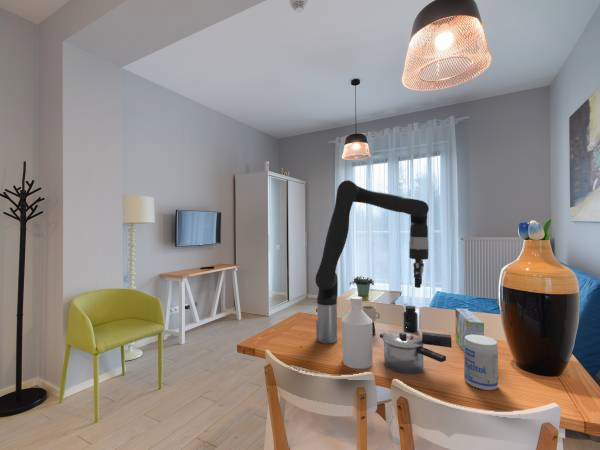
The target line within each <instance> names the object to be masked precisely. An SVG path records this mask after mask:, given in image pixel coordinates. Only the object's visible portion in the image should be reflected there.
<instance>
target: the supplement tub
mask: <svg viewBox="0 0 600 450" xmlns="http://www.w3.org/2000/svg"><path fill="white" fill-rule="evenodd" d="M463 376H464V381H465V382H466V383H467V384H468V385H469V386H471V387H474V388H475V387H476V389H478V388H479V390H484V391H494V390H496V389H498V387H499V346H498V341H497V340H496V339H494V338H492V337H490V336H486V335H484V336H482V335H466V336H465V340H464V351H463Z"/></svg>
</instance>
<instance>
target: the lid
mask: <svg viewBox="0 0 600 450" xmlns="http://www.w3.org/2000/svg"><path fill="white" fill-rule="evenodd" d="M382 340H383V343H384V342H385V343H387V344H388V345H391V346H394V347H398V348H404V349H415V348H420V347H422V346H423V347H424V345H426V346H427V345H428V346H436V347H444V348H452V336H451V334H447V333H446V334H445V333H434V332H428V331H422V332H421V337H420V336H419V335H416V334H414V333H411V332H402V331H396V332H395V331H394V332H391V331H390V332H387V333H386V334H385V335H384V336H383V339H382Z"/></svg>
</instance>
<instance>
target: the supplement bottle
mask: <svg viewBox="0 0 600 450" xmlns="http://www.w3.org/2000/svg"><path fill="white" fill-rule="evenodd" d="M404 310H405V311H404V312H403V313H402V314H403V316H402V318H403V319H402V320H403V321H402V322H403V323H402V324H403V325H402V326H403V327H402V328H403V331H405V332H406V333H417V332H418V331H419V330H418V329H419V328H418V325H419V323H418V321H419V320H418V319H419V318H418V316H419V315H418V313H417V312H416V306H413V305H405V309H404ZM406 327H407V328H406Z"/></svg>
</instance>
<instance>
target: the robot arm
mask: <svg viewBox="0 0 600 450" xmlns="http://www.w3.org/2000/svg"><path fill="white" fill-rule="evenodd" d="M354 203H362V204H366V205H371V206H374V207H377V208H381V209H384V210H388V211H392V212H395V213H404V214H406V215H410V228H409V229H410V230H409V243H408V245H409V249H408V250H409V251H408V252H409V253H408V254H409V256H408V257H409V259H411V260H414V262H413V264H412V265H413V266H412V267H413V278H414V288H415V289H419V288H421V285H422V284H423V275H424V274H423V273H424V267H425V263H424V261H425V260H428V259H429V226H428V213H429V211H430V210H429V209H430V208H429V204H428V203H427V202H426V201H424V200H421V199H418V198H417V199H416V198H411V197H404V196H401V195H397V194H394V193H393V194H392V193H387V192H382V191H373V190H370V189H366V188H364V187H361V186H359V185H357V184H356V183H355V182H354V181H352V180H349V179H345V180H343V181H342V182H340V184H339V185H338V187H337V191H336V197H335V205H334V208H333V212H332V216H331V218H330V222H329V226H328V229H327V233H326V237H325V241H324V242H325V243H324V247H323V252H322V257H321V261H320V264H319V266H318V270H317V272H316V275H315V279H314V281H315V284H316V286H317V289H318V294H317V297H316V301H317V302H316V306H317V307H316V308H317V309H316V311H317V312H316V313H317V316H316V317H317V319H316V321H315V322H316V324H315V326H316V327H315V329H316V336H315V337H316V338H315V339H316V342H320V343H322V344H334V343H336V342H337V341H338V292H339V291H338V289H339V288H338V286H339V284H338V283H339V281H338V275H337V274H338V273H337V272H336V271H337V265H338V262H339V259H340V258H341V255H342V253H343V250H344V248H345V246H346V242H347V238H348V235H349V229H350V214H351V210H352V206H353V204H354Z"/></svg>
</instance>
